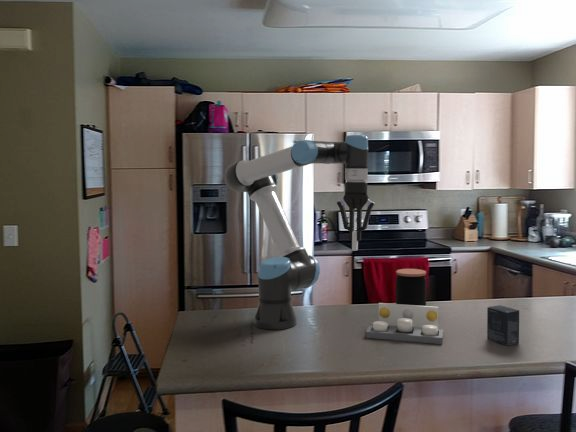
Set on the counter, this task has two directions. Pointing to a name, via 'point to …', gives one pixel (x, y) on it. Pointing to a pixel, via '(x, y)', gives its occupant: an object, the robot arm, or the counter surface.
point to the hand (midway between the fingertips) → (354, 250)
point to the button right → (430, 330)
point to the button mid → (404, 324)
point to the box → (503, 325)
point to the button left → (380, 326)
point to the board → (405, 335)
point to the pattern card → (408, 314)
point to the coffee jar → (411, 287)
